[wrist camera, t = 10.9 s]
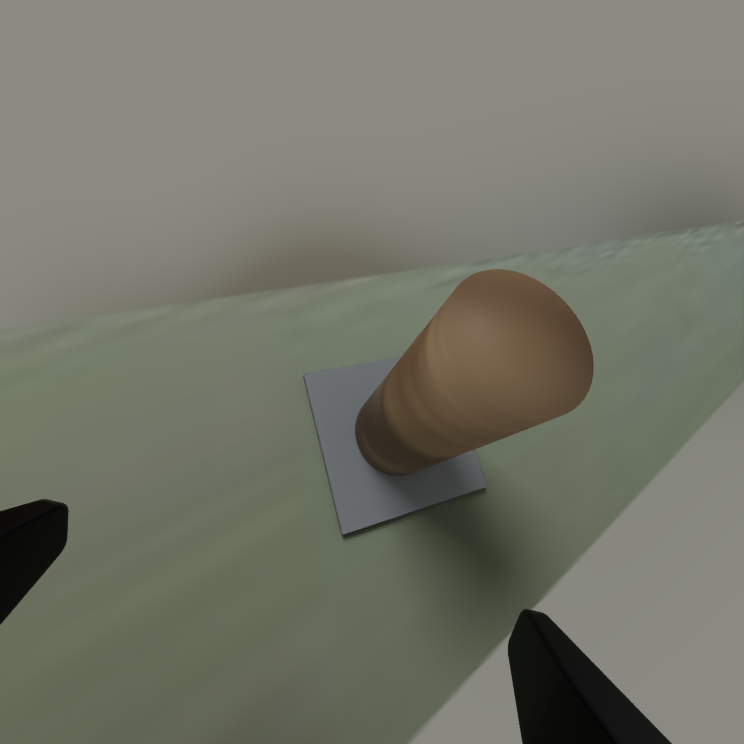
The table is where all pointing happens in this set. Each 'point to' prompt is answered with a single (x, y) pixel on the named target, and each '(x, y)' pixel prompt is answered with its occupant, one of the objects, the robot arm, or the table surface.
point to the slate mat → (354, 473)
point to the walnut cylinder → (477, 374)
